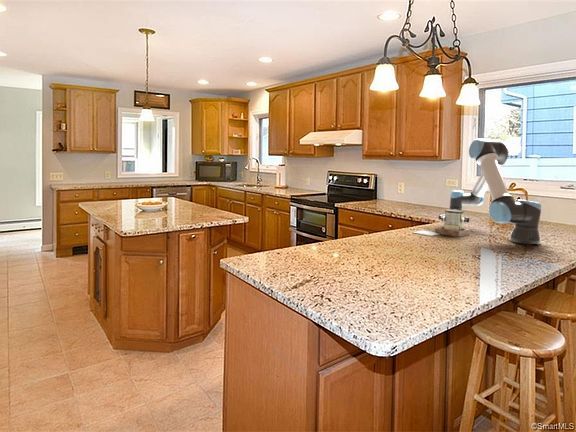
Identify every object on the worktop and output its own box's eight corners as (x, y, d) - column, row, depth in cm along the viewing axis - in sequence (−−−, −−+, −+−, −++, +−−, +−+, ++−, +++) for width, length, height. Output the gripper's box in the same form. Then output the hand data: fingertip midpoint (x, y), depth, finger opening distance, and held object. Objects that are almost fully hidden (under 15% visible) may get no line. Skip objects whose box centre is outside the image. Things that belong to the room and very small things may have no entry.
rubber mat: (441, 234, 246) (441, 233, 246) (431, 236, 238) (431, 235, 237) (422, 231, 254) (422, 230, 254) (412, 232, 246) (412, 232, 246)
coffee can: (441, 231, 255) (443, 208, 253) (458, 232, 254) (460, 209, 252) (445, 234, 244) (447, 211, 242) (463, 235, 243) (466, 211, 241)
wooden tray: (469, 234, 249) (469, 229, 248) (458, 236, 239) (459, 231, 239) (446, 230, 259) (446, 225, 259) (435, 232, 249) (435, 228, 249)
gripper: (473, 223, 260) (473, 228, 240) (435, 220, 269) (432, 224, 249) (474, 211, 259) (474, 215, 239) (436, 208, 268) (433, 212, 248)
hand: (453, 220), depth 244 cm, fingers closed on coffee can, 10 cm apart
